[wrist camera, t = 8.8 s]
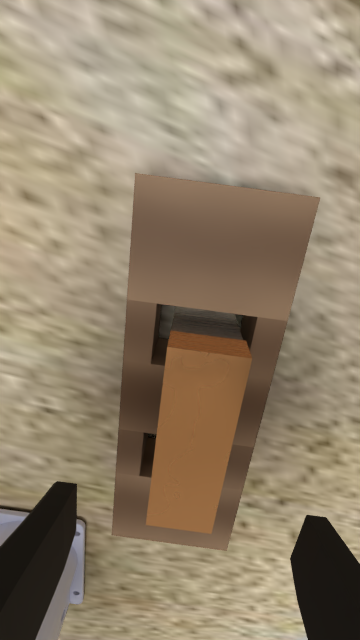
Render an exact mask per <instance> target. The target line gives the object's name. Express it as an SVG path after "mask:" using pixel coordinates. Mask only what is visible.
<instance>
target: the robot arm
mask: <svg viewBox="0 0 360 640" xmlns="http://www.w3.org/2000/svg"><path fill="white" fill-rule="evenodd" d="M76 518H77V484H73V483H66V482H59V481H57V482H56V483H54V484H53V485H52V487H51V488H50V489H49V490H48V492H47V493H46V494H45V495H44V497H43V498H42V499H41V500H40V502H39V503H38V504H37V505H36V506H35V508H34V509H33V510H32V511H31V512H30V513H28V512H20V511H13V510H6V509H0V640H58V637H59V634H60V631H61V628H62V625H63V622H64V619H65V615H66V612H67V609H68V606H69V603H72V604H80V603H82V601H83V598H84V563H85V523H84V522H83V521H82V520H79V519H76ZM290 560H291V566H292V572H293V578H294V584H295V590H296V595H297V600H298V604H299V608H300V612H301V616H302V619H303V623H304V627H305V631H306V634H307V638H308V640H360V564H359V562H358V561H357V560H356V558H355V557H354V555H353V554H352V553H351V551H350V550H349V548H348V547H347V546H346V544H345V543H344V541H343V540H342V539H341V537H340V536H339V534H338V533H337V532H336V530H335V529H334V527H333V526H332V525H331V523H330V522H329V521H328V519H327V518H326V517H319V516H312V515H306V518H305V521H304V523H303V526H302V529H301V531H300V534H299V536H298V539H297V542H296V544H295V547H294V550H293V552H292V555H291V558H290Z"/></svg>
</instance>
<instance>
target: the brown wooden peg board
mask: <svg viewBox="0 0 360 640" xmlns="http://www.w3.org/2000/svg"><path fill="white" fill-rule="evenodd" d="M319 201H320V197H312V196H304V195H297V194H289V193H282V192H274V191H267V190H259V189H251V188H244V187H236V186H229V185H221V184H213V183H206V182H198V181H191V180H183V179H176V178H168V177H160V176H153V175H145V174H138V173H135V186H134V201H133V216H132V232H131V247H130V263H129V278H128V293H127V309H126V324H125V339H124V355H123V370H122V385H121V401H120V416H119V431H118V447H117V462H116V478H115V493H114V508H113V524H112V535H115V536H123V537H130V538H137V539H144V540H152V541H159V542H166V543H174V544H181V545H188V546H196V547H203V548H210V549H217V550H225V551H227V547H228V543H229V540H230V536H231V532H232V528H233V525H234V521H235V517H236V513H237V510H238V506H239V502H240V498H241V494H242V491H243V487H244V483H245V479H246V476H247V472H248V468H249V464H250V461H251V457H252V453H253V449H254V445H255V442H256V438H257V434H258V430H259V427H260V423H261V419H262V415H263V412H264V408H265V404H266V400H267V397H268V393H269V389H270V385H271V381H272V378H273V374H274V370H275V366H276V363H277V359H278V355H279V351H280V348H281V344H282V340H283V336H284V332H285V329H286V325H287V321H288V317H289V314H290V310H291V306H292V302H293V299H294V295H295V291H296V287H297V283H298V280H299V276H300V272H301V268H302V265H303V261H304V257H305V253H306V250H307V246H308V242H309V238H310V235H311V231H312V227H313V223H314V219H315V216H316V212H317V208H318V204H319ZM162 304H164V305H172V306H179V307H187V308H194V309H202V310H209V311H217V312H224V313H232V314H239V315H243V320H242V325H241V330H240V332H241V335H242V338H243V340H244V341H246V342H247V345H248V348H249V351H250V353H251V356H252V362H251V366H250V371H249V375H248V379H247V383H246V388H245V392H244V396H243V401H242V405H241V409H240V414H239V418H238V422H237V426H236V431H235V435H234V439H233V444H232V448H231V452H230V456H229V461H228V465H227V469H226V474H225V478H224V482H223V486H222V491H221V495H220V499H219V504H218V508H217V512H216V517H215V521H214V525H213V529H212V534H208V533H201V532H193V531H186V530H179V529H171V528H164V527H157V526H149V525H146V519H147V510H148V502H149V494H150V485H151V477H152V469H153V461H154V452H155V444H156V439H155V438H148V433H152V434H157V427H158V419H159V411H160V403H161V394H162V386H163V378H164V370H165V361H166V353H167V346H168V341H169V339H162V338H158V335H159V326H160V316H161V307H162Z"/></svg>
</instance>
